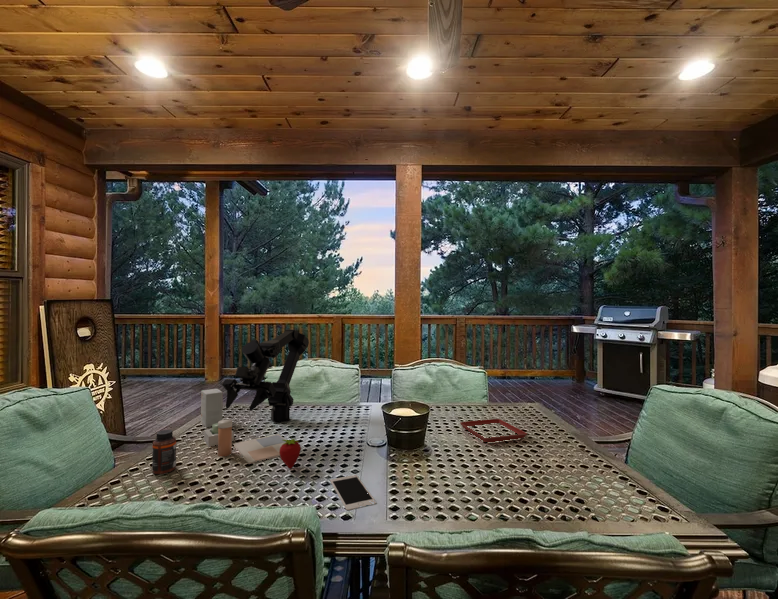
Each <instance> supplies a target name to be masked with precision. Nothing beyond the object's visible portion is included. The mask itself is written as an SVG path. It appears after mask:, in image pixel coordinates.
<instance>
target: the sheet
mask: <svg viewBox="0 0 778 599" xmlns="http://www.w3.org/2000/svg"><path fill="white" fill-rule="evenodd" d="M283 440H286V438H284V437H283V436H281V435H280V434H279V433H277V434H272V435H268V436H262V437H258V438H253V439H249V440H244V441H239V442H236V443H234V442H233V443H232V446H233V445H234V446H233V447H234V448H235V449H237V450H238V451H239V452H238V451H237V450H236V451H237V452H238V453H239V454H240V456H241V457H242V456H243V457H244V458H243V457H242V458H243V459H244V460H245V462H246V463H247V462H248V463H247V464H248V465H250V464H255V463H258V462H257V461H259V462H263V461H266V459H267V460H271V459H275V458H279V457H280V453H279V452H280V447H281V446H282V445H283V444H284V443H286V441H283ZM262 460H263V461H262Z"/></svg>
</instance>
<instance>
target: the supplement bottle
mask: <svg viewBox="0 0 778 599" xmlns="http://www.w3.org/2000/svg"><path fill="white" fill-rule="evenodd" d="M173 434H174V433H173V430H172V429H162V430H159V431H157V432H156V436H155V437H156V438H155V440H153V441H152V450H151V453H152V456H151V457H152V458H151V459H152V460H151V461H152V462H151V463H152V464H151V467H152V473H153V474H154V475H165V474H169V473H171V472H172V471H173V472H174V471H175V469H176V468H177V438H176V437H175V436H173ZM168 472H169V473H168Z"/></svg>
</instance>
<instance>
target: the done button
mask: <svg viewBox="0 0 778 599" xmlns="http://www.w3.org/2000/svg"><path fill="white" fill-rule="evenodd" d="M211 429H212V434H218V423H215V424H213V425H212V427H211Z"/></svg>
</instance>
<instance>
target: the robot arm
mask: <svg viewBox="0 0 778 599" xmlns="http://www.w3.org/2000/svg"><path fill="white" fill-rule="evenodd" d="M309 343H310V341H309V338H308V337H307V336H306V335H305V334H303V333H301V332H299V331H298V330H296V329H285V330H284V332H282V333H281V334H279V335H278V336H276V337H274V338H273V339H271V340H270V339H269V340H266V341H262V342H260V343H259V341H258V339H252V340H251V341H249V342H247V343H245V344H244V345H242V348H241V351H242V353H243V355H244V356H245V358H246V359H247V361H248V362H249V363H250V364H251V366H250V367H244V366H242V367H241V366H237V368H236V371H235V375H234V376H235V377H237V378H239V381H240V382H241V383H239V382H238V381H237V380H236V379H234V378H225V379H224V380H223V381H222V384H221V385H222V387H223V388H224V389H225V390H226V400H225V401H226V402H225V409H227V410H228V409H229V408H230V407H231V406H232V404H233V403H234V401H235V400H236V399H237V398H238V396H239V393H240V391H241V390H244V391H245V390H246V391H256V392H255V395H254V397H253V399H252V402H251V403H250V406H249V411H251V412H252V411H253V410H254V409H256V408H257V407H258V406H259V405H261V404H262V403H263V402H264V401H266V400H267V401H268V406H269V407H271V409H270V420H271V421H272V422H273V423H275V424H281V423H285V422H289V421H292V419H291V417H290V414H291V413H290V408H291V407H293V404H294V398H293V397H292V396H293V395H291V392H292V391H291V387H290V383H291V381H292V377H293V375H294V373H295V370H296V366H297V364H298V362H299V359H300V356H301V355H302V354H303V353H305V352H306V350H307V348H308V347H309ZM285 346H287V348H288V353H287V356H286V359H285V362H284V364H283V367H282V369H281V372H280V374H279V377H278V379H277V381H276V382H275V381H265V380H266V377H265V375H266V373H267V371H268V368H270V369H271V368H273V365H272V363H271V360H270V359H276V358H277V357H278V355H279V354H280V353H281V349H283V347H285ZM269 358H270V359H269Z"/></svg>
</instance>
